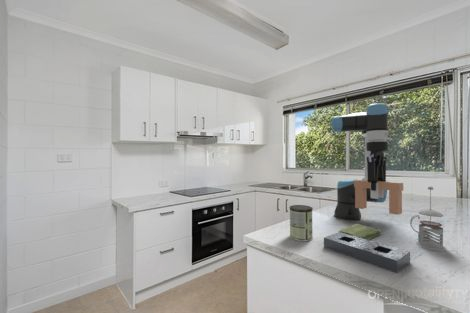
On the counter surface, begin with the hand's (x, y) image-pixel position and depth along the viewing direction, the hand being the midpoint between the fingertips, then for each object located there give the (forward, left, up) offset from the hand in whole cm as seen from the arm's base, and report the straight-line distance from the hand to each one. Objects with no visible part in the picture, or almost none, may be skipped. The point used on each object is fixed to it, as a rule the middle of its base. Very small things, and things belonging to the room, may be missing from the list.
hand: (377, 197), depth 94 cm
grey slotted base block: (0, -12, -20) cm, 24 cm away
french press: (+12, +19, -21) cm, 31 cm away
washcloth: (-12, +10, -21) cm, 26 cm away
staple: (0, 0, -5) cm, 5 cm away
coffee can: (-26, -16, -21) cm, 37 cm away
